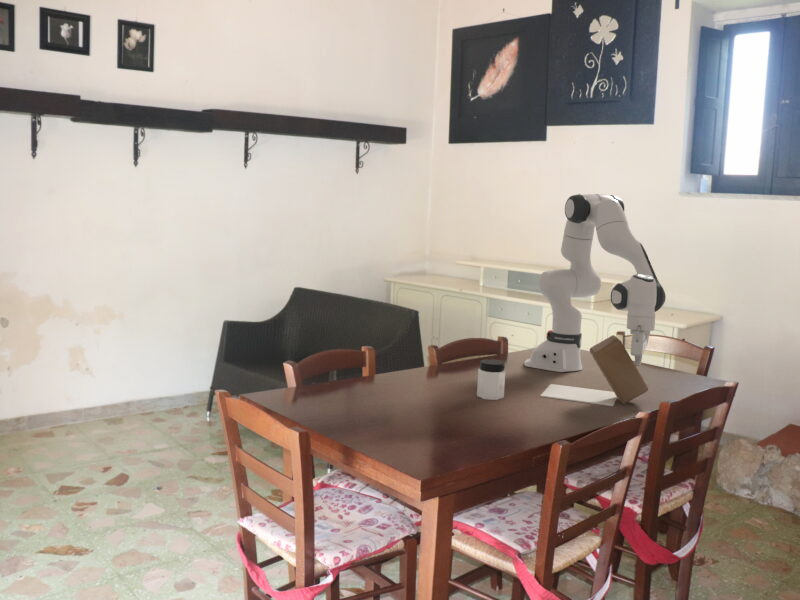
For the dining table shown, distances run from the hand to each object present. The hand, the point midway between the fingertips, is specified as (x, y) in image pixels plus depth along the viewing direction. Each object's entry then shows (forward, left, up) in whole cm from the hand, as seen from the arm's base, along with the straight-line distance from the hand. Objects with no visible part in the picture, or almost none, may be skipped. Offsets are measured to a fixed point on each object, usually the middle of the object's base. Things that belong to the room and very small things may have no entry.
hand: (637, 365), depth 266 cm
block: (-1, 0, -10) cm, 10 cm away
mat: (-18, +1, -13) cm, 22 cm away
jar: (-45, -17, -13) cm, 50 cm away
